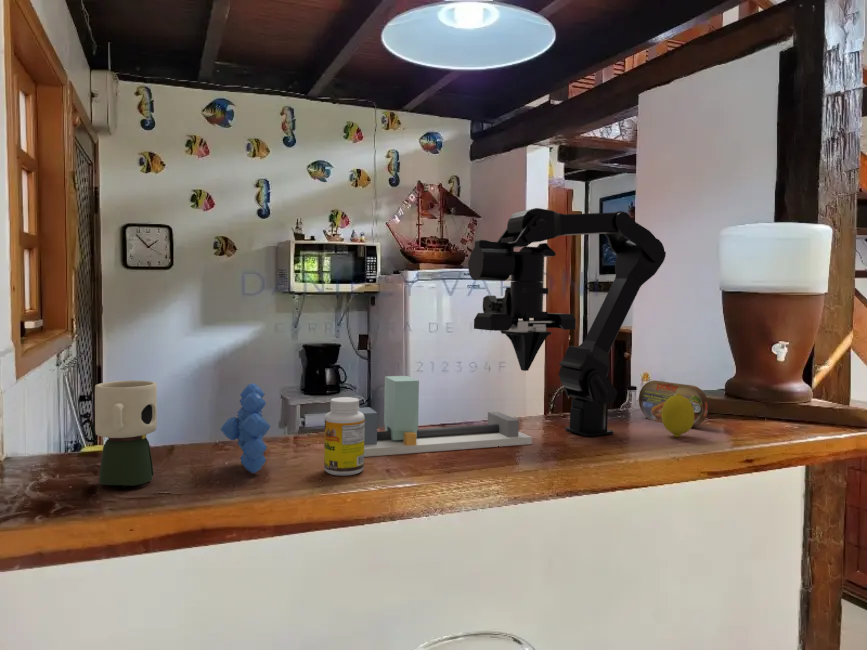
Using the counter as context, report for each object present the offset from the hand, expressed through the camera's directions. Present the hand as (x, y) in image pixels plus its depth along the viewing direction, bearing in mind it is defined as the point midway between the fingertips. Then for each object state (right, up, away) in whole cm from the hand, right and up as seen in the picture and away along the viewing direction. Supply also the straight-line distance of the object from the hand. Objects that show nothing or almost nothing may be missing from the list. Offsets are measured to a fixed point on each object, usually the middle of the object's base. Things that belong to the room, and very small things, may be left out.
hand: (524, 370), depth 109 cm
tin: (+32, -12, +16) cm, 38 cm away
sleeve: (-22, -10, -7) cm, 25 cm away
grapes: (-43, -13, -22) cm, 50 cm away
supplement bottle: (-29, -13, -22) cm, 38 cm away
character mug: (-56, -13, -30) cm, 64 cm away
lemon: (+28, -13, +3) cm, 31 cm away
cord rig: (-15, -12, -5) cm, 20 cm away
